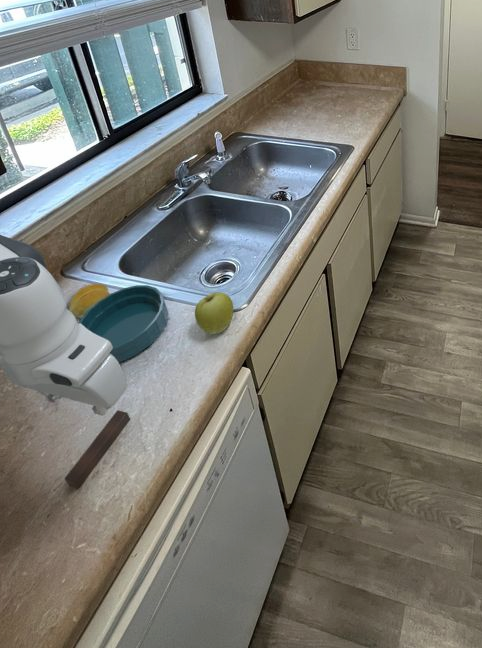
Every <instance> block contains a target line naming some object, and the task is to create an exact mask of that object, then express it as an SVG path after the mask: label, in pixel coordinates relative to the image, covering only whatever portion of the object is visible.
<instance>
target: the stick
mask: <svg viewBox="0 0 482 648" xmlns="http://www.w3.org/2000/svg"><path fill="white" fill-rule="evenodd" d="M130 421H131V417H130V415H129V413H128V412H126V411H123V410H118V409H117V410H116V411H115V413H114V414H113V415H112V417H111V418H110V419H109V421H108V422H106V425H105V426H104V427H103V428H102V429H101V431H100V432H99V433H98V435H96V437H95V438H94V440H93V441H92V443H90V444H89V446H88V447H87V449H86V450H85V451H84V452H83V454H82V455H81V456H80V457H79V459H78V460H77V462H76V463H75V464H74V465H73V466H72V468H71V469H70V471H69V472H68V473H67V474H66V476H65V477H64V480H65V482H66V483H67V484H68V485H67V486H70V487H73V488H76V489H81V487H82V486H83V484H84V483H85V482H86V481H87V479H89V476H91V474H92V472H93V471H94V470H95V468H96V467H97V466H98V464H99V463H100V462H101V460H102V459H103V457H104V456H105V455H106V453H107V452H108V450H109V449H110V448H111V447H112V445H114V442H115V441H116V440H117V439H118V437H119V436H120V434H121V433H122V432H123V431H124V429H125V427H126V426H127V425H128V424H129V422H130Z"/></svg>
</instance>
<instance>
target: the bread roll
mask: <svg viewBox="0 0 482 648" xmlns="http://www.w3.org/2000/svg"><path fill="white" fill-rule="evenodd" d="M109 294H111V293H110V292H109V288H108V286H107V285H105V284H102V283H92V284H91V283H90V284H88V285H86V286H84V287H82V288H80V289H79V290H78V291H76V293H74V295H73V297H72V298H71V300H70V302H69V306H68V310H69V311H70V312H71V313H73V315H74V316H75V318H76V319H80V320H81V318H82V317H83V316H84V315H85V313H86V312H87V311H88V310H89V309H90V308H91V307H92V306H94V305H95V304H96V303H97V302H98V301H100V300H101V299H103V298H105V297H106V296H108V295H109Z"/></svg>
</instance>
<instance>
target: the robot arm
mask: <svg viewBox="0 0 482 648" xmlns="http://www.w3.org/2000/svg"><path fill="white" fill-rule="evenodd" d="M78 323H79V321H78V320H77V318H75V316H74V315H73V313H71V312H70V310H69V309H68V308H67V300H66V297H65V294H64V293H63V290H62V289H61V288H60V286H59V284H58V282H57V280H56V279H55V278H54V276H53V275H52V273H50V272H49V270H48V269H47V264H46V262H45V259H44V257H43V254H42V253H41V252H40V251H39V249H37V248H36V247H35V246H33V245H31V244H30V243H26V242H24V241H21V240H17V239H16V238H15V239H14V238H10V237H8V236H5V235H2V234H0V369H2V372H3V374H4V375H5V377H6V379H7V380H8V381H9V382H10V383H11V384H13V385H14V386H17V387H22V388H25V389H29V390H33V391H36V392H38V393H39V394H41V395H42V396H44V397H45V399H46V401H47V402H49V403H52V404H57V403H58V402H60V400H61V399H62V398H64V399H68V400H71V401H75V402H79V403H82V404H86V405H90V406H92V407H91V410H92V412H93V413H94V415H98V416H102V417H103V416H105V415H106V414H107V413H108V411H109V410H110V409H112V408H113V407H114V406H115V405H116V403H117V402H118V401H119V400H120V399H121V397H122V396H123V395H124V393H125V392H126V390H127V388H128V380H127V378H126V374H125V373H124V371H123V368H122V367H121V365H120V362H118V361H117V360H116V358H115V357H114V356H113V355H111V354H110V352H111V350H112V349H113V346H112V344H111V342H110V341H108V340H107V339H105V338H103V337H101V336H98V335H97V334H95V333H93V332H91V331H89V330H88V329H87V328H86V327H84V326H83V325H82V324H80V323H79V324H78Z"/></svg>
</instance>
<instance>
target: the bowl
mask: <svg viewBox="0 0 482 648" xmlns="http://www.w3.org/2000/svg"><path fill="white" fill-rule="evenodd" d="M168 318H169V309H168V307H167V304H166V301H165V298H164V296H163V293H162V292H161V291H160V290H159V289H158V288H157V287H155V286H151V285H148V284H146V285H145V284H143V285H142V284H141V285H139V284H138V285H132V286H128V287H124V288H121V289H119V290H115V291H114V292H111V293H110V294H109V295H108V296H106V297H105V298H103V299H101V300H100V301H98V302H97V303H96V304H95V305H94V306H92V307H91V308H90V309H89V310H88V311H87V312H86V313H85V315H84V316H83V317H82V318H81V319H80V320H79V321H78V324H79V323H80V324H82V325H83V326H84V327H86V328H87V329H88V330H89V331H91V332H93V333H95V334H97V335H98V336H101V337H103V338H105V339H107V340H108V341H110V342H111V344H112V346H113V349H112V350H111V352H110V354H111V355H113V356H114V357H115V358H116V360H117V361H118V363H121V362H125V361H127V360H128V359H131V358H132V357H135V356H137V355H138V354H140V353H142V352H143V351H144V350H145V349H147V348H148V347H149V346H151V345H152V344H153V343H154V341H155V340H157V338H158V337H160V335H161V334H162V332H163V330H164V329H165V328H166V326H167V322H168Z"/></svg>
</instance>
